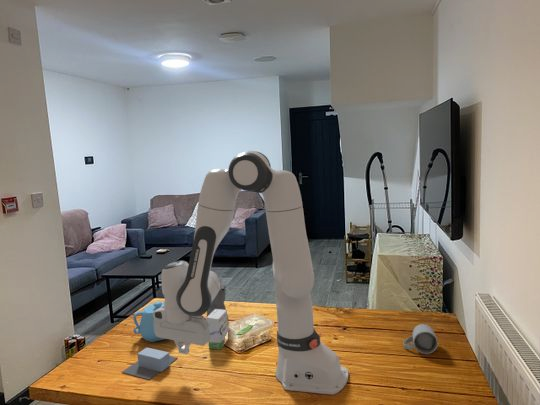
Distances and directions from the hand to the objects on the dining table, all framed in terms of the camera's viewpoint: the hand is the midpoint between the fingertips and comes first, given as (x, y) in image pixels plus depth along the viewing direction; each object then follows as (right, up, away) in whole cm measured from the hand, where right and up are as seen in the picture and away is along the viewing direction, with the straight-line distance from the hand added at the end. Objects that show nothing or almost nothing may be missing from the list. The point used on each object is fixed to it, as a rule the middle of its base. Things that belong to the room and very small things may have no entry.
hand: (184, 352), depth 132 cm
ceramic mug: (+79, -1, +7) cm, 79 cm away
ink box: (+9, -4, +20) cm, 22 cm away
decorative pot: (-15, -4, +30) cm, 34 cm away
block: (-7, -5, +4) cm, 9 cm away
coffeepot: (+5, -1, +41) cm, 41 cm away
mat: (-13, -7, +8) cm, 17 cm away
